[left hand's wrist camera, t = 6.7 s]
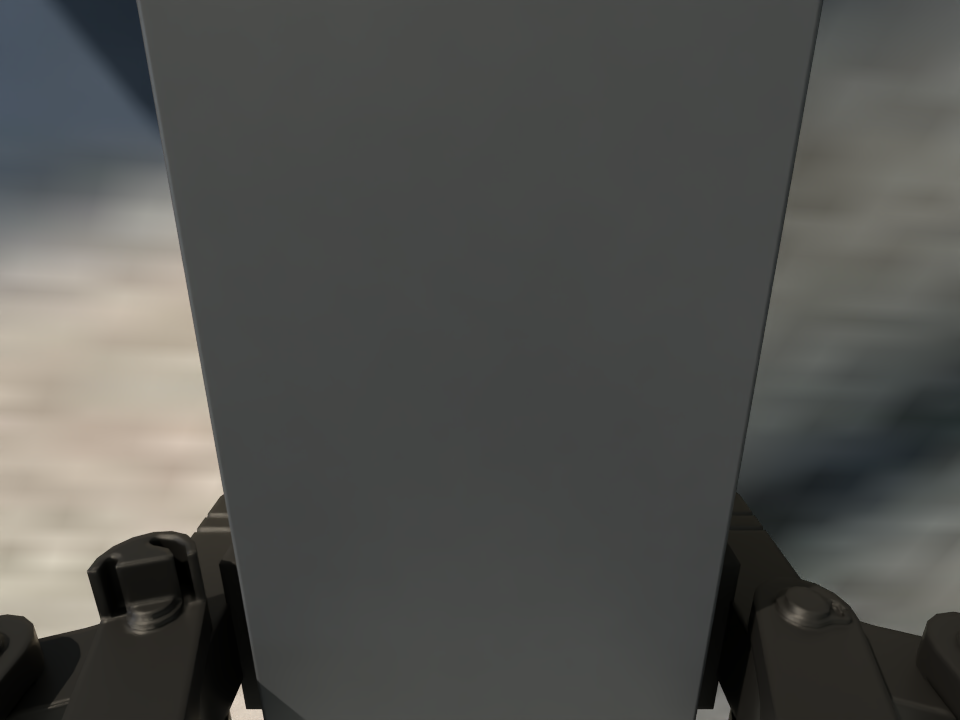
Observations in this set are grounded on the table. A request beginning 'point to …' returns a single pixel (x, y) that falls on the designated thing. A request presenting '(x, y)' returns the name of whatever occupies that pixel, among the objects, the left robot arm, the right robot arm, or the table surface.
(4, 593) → the table surface
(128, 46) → the table surface
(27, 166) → the table surface
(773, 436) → the table surface
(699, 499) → the beam
